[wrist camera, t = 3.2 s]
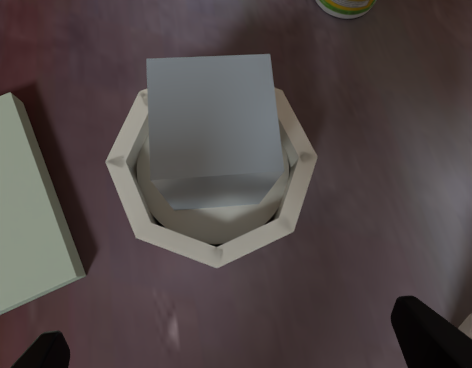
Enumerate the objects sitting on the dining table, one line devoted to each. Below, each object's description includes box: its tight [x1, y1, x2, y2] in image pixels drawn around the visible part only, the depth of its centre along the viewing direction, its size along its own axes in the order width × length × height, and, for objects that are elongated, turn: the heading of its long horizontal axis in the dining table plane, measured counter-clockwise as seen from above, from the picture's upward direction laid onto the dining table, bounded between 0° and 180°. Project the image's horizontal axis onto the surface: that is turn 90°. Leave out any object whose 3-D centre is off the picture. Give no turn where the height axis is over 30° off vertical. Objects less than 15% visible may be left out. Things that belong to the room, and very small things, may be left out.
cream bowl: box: [105, 88, 318, 268], centre depth 21 cm, size 11×11×4 cm
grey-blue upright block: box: [146, 54, 284, 211], centre depth 17 cm, size 5×5×8 cm
